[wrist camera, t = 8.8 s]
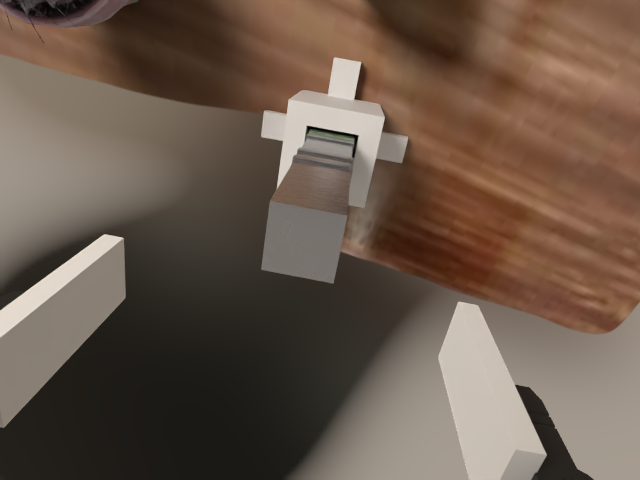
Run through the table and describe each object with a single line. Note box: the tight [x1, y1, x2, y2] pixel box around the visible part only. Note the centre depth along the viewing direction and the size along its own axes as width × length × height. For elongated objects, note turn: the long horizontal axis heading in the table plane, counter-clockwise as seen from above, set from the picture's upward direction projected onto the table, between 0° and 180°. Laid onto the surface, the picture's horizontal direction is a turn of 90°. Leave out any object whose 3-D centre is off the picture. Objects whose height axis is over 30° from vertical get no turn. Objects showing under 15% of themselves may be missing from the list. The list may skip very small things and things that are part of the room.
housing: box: [261, 57, 408, 208], centre depth 46 cm, size 17×17×11 cm
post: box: [261, 127, 355, 283], centre depth 33 cm, size 4×4×24 cm
